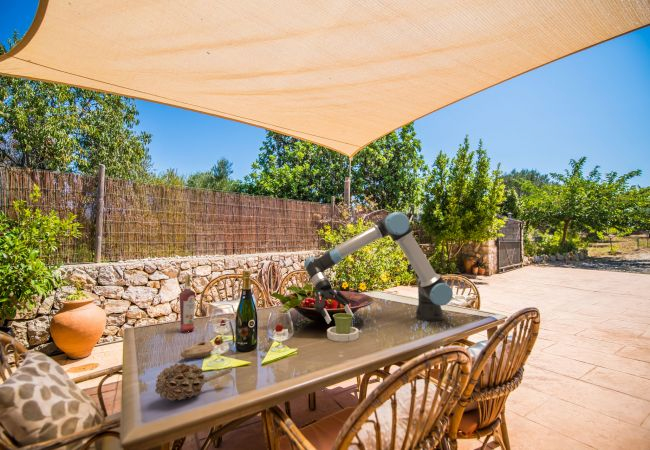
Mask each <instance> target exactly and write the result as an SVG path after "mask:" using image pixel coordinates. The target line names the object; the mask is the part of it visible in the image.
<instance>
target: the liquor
mask: <svg viewBox="0 0 650 450" xmlns="http://www.w3.org/2000/svg"><path fill="white" fill-rule="evenodd" d="M195 304H196V292H195V291H194V290H192V289H191V274H184V290H182V291H181V292H180V293H179V313H180V314H179V317H180V327H179V330H180V331H181V333H183V332H188V331H191V332H193V331H194V329H195V309H196V308H195ZM188 333H189V332H188Z"/></svg>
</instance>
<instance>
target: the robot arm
mask: <svg viewBox="0 0 650 450" xmlns="http://www.w3.org/2000/svg"><path fill="white" fill-rule="evenodd" d="M410 222H411V221H410V219H409V217H408V216H407V215H406V214H404V213H403V212H399V211H393V212H391V213H389V214H386V215H385V216H383V217H382V218H381V219H380V220H378V221H376V222H375V223H373V225H372V226H371V227H369V228H368V229H366V230H363V231H362V232H360V233H358V234H357V235H355V236H353V237H351V238H349V239H347V240H346V241H343V242H342V243H340V244H338V245H336V246H334V247H333V248H331V249H329V250H326V251H325V252H323V254H322V255H321V256H319V257H318V258H317V257H315V256H311V257H308V258H307V259H306V260H305V261H304V263H303V265H304V268H305V270H306V272H307V274H308V276H309V278H310V280H311V281H312V284H313V286H314V287H315V290H316V291H315V292H314V293H313V296H314V300H315V301H314V305H315V306H314V311H316V312H318V313H320V314H321V316H322V318H323V317H324V319H325V322H326V323H327V324H328V325H329V324H330V323H331V321H332V319H331V317H330V314H329V313H328V311H327V309H326V307H325V304H326V301H329V300H332V301H336V302H337V303H338V304H340V305H342V306H343V310H345V312H346V313H347V314H351V315H353V317H354V313H353V312H352V311H353V310H352V309H351V307H350V304H351V300H350V299H349V298H347V297H346V295H344V294H343V293H342V292H341V291H340V290H339V288H336V289H333V288H332V284H331V282H330V281H329V278H328V276H327V275H326V274H325V271H327V270H329V269H330V268H332V267H334V266H335V265H338V264H339V263H340V262H342V261H343V258H346V257H347V256H349V255H351V254H353V253H354V252H356V251H358V250H360V249H362V248H363V247H366V246H367V245H369V244H371V243H373V242H375V241H376V240H379V239H384V238H386V237H390V239H391V240H392V242H394V243H397V244H398V246H399V247H400V249H401V251H402V252H403V255H404V256H405V257H406V259H407V261H408V262H409V264H410V265H411V268H412V269H413V271H414V272H415V273H416V275H417V277H418V279H417V290H418V291H417V293H418V294H417V297H418V304H417V307H416V311H415V318H416V319H418V320H421V321H426V322H427V321H428V322H439V321H443V320H444V317H445V316H444V315H445V314H444V313H443V310H442V306H446V305H448V304H449V303H450V302H451V301H452V299H453V296H454V295H453V289H452V287H451V286H450V285H449V284H448V283H446V281H444V279H443V277H442V275H441V274H439V273H436V271H435V270H434V268H433V267H432V265H431V264H430V261H429V260H428V258H427V257H426V255H425V254H424V252H423V250H422V249H421V247H420V245H419V244H418V243H417V241H416V238H415V237H414V235H413V231H414V230H413V228H412V227H411V224H410ZM320 297H321V301H320ZM324 307H325V308H324Z"/></svg>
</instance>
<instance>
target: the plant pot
mask: <svg viewBox="0 0 650 450" xmlns="http://www.w3.org/2000/svg"><path fill="white" fill-rule="evenodd" d="M353 315H354V314H353ZM353 315H351V314H347V313H345V312H344V313H343V312H339V313H335V314H333V315H332V317H333V319H334V323H335V326H336V333H337V334H350V328H351V327H352V321H353V318H354V316H353Z"/></svg>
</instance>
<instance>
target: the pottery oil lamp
mask: <svg viewBox="0 0 650 450" xmlns="http://www.w3.org/2000/svg"><path fill="white" fill-rule="evenodd" d="M214 349H215V346H214V345H213V341H205V340H200V341H198V342H196V343H194V344H193V345H191V346H189V347H187V348H185V349H183V350H181V352H180V357H182V358H183V359H190V358H195V359H201V358H205V357H206V356H207V355H209V354H210V353H212V351H214ZM205 355H206V356H205ZM204 356H205V357H204Z"/></svg>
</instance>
